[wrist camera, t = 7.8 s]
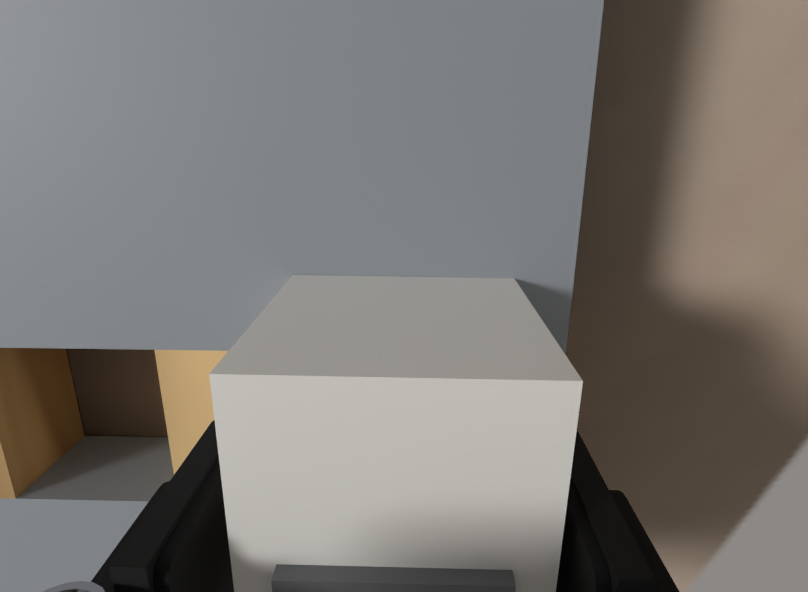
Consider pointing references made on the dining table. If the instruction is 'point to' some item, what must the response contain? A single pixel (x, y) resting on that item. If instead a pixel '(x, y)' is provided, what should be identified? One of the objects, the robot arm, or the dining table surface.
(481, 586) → the white rectangular block
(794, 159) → the dining table surface
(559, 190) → the subfloor panel
